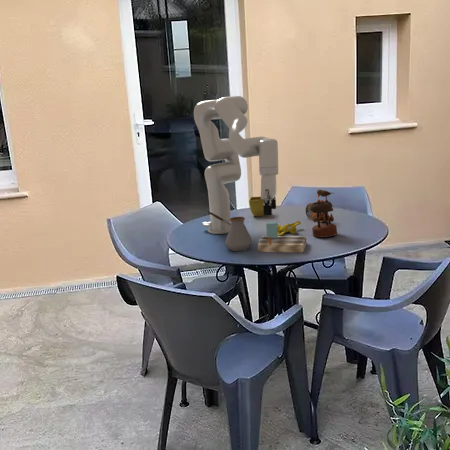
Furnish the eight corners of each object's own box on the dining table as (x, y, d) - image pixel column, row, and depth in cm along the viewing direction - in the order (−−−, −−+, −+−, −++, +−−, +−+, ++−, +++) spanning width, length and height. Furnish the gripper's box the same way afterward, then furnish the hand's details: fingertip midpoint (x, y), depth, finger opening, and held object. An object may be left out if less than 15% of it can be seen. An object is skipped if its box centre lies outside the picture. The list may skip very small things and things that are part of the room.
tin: (305, 218, 260) (304, 201, 258) (310, 217, 261) (310, 200, 259) (324, 224, 247) (323, 206, 245) (329, 223, 248) (329, 205, 246)
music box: (322, 229, 238) (321, 186, 233) (343, 232, 231) (343, 188, 226) (302, 237, 228) (301, 192, 223) (324, 241, 220) (323, 194, 215)
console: (258, 251, 214) (257, 237, 212) (263, 243, 225) (263, 229, 223) (302, 252, 209) (302, 237, 207) (306, 243, 220) (305, 229, 218)
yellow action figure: (278, 216, 250) (305, 219, 240) (280, 224, 251) (306, 227, 241) (253, 231, 237) (279, 235, 227) (254, 239, 238) (281, 243, 228)
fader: (267, 240, 216) (266, 223, 214) (268, 238, 219) (267, 221, 217) (276, 240, 215) (276, 223, 213) (278, 238, 218) (277, 221, 216)
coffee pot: (258, 246, 221) (256, 211, 217) (243, 254, 212) (240, 218, 208) (217, 240, 233) (214, 207, 230) (201, 248, 225) (198, 213, 221)
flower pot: (251, 213, 278) (250, 196, 276) (268, 212, 277) (267, 195, 275) (249, 217, 270) (248, 200, 268) (266, 216, 269) (266, 199, 266)
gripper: (263, 166, 219) (264, 206, 224) (255, 174, 203) (256, 217, 208) (281, 166, 217) (282, 206, 222) (274, 174, 201) (275, 218, 206)
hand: (270, 211), depth 215 cm, fingers open, 9 cm apart
